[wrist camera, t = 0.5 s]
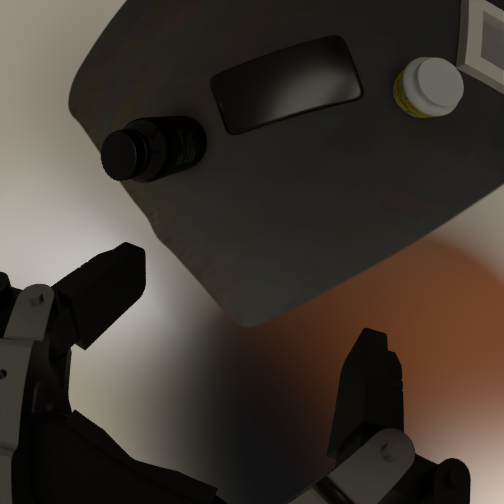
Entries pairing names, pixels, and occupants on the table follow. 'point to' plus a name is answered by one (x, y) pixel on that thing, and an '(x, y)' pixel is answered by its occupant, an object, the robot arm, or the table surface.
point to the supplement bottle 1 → (153, 148)
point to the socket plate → (482, 42)
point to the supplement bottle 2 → (428, 87)
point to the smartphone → (286, 84)
